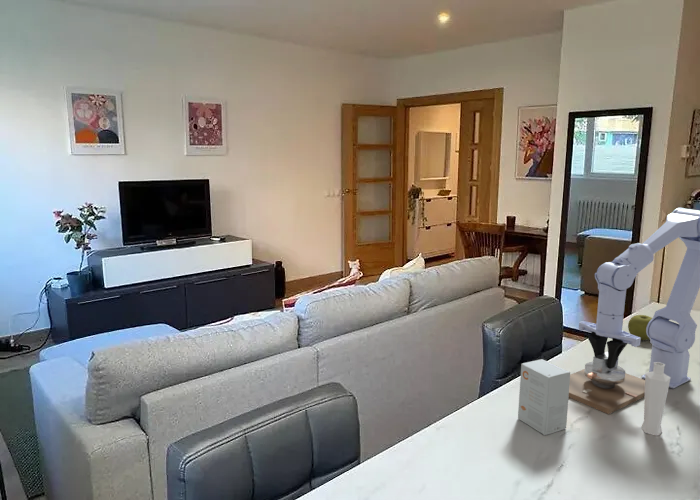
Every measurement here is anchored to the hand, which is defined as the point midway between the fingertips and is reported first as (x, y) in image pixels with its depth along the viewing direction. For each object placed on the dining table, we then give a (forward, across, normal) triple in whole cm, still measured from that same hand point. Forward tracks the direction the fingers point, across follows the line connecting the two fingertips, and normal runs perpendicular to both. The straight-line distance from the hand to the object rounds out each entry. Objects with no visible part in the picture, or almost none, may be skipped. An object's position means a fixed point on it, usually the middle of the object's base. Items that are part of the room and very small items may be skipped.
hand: (605, 365), depth 130 cm
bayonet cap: (+3, 0, -1) cm, 3 cm away
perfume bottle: (+6, +17, -10) cm, 21 cm away
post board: (+6, 0, 0) cm, 6 cm away
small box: (+6, +2, -27) cm, 28 cm away
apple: (+6, -13, +43) cm, 45 cm away
